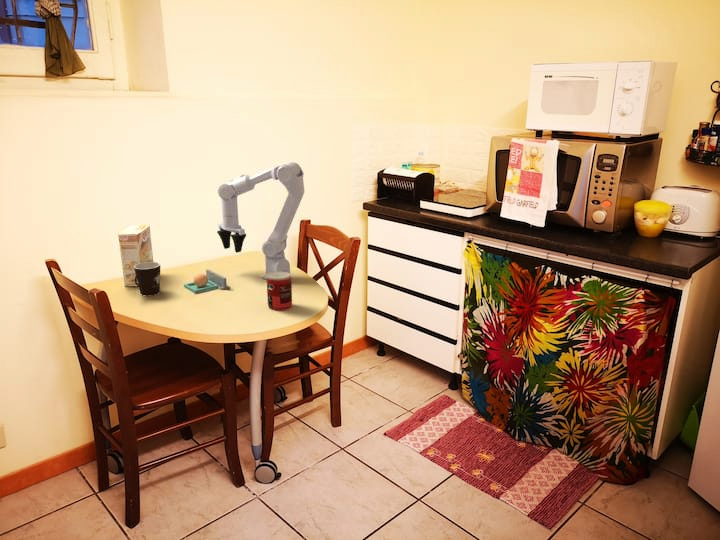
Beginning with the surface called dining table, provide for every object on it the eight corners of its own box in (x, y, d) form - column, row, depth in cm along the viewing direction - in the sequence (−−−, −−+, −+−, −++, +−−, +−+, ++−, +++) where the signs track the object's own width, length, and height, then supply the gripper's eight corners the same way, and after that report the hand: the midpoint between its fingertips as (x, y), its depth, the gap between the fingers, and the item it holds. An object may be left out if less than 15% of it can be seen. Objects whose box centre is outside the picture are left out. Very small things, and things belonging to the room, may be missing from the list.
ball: (211, 287, 196) (210, 273, 194) (199, 290, 192) (198, 276, 191) (203, 283, 199) (202, 270, 197) (191, 286, 195) (190, 273, 194)
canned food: (270, 302, 182) (268, 270, 179) (293, 302, 182) (292, 271, 179) (265, 310, 175) (264, 278, 172) (290, 311, 175) (289, 278, 171)
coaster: (218, 288, 195) (218, 285, 195) (194, 293, 190) (194, 290, 189) (207, 282, 202) (207, 279, 201) (184, 287, 196) (183, 284, 196)
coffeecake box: (143, 286, 197) (137, 233, 191) (123, 286, 196) (116, 234, 190) (155, 273, 211) (150, 224, 205) (137, 273, 211) (131, 224, 205)
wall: (229, 288, 195) (228, 277, 194) (221, 289, 193) (221, 279, 192) (211, 278, 205) (210, 268, 204) (204, 280, 203) (203, 270, 202)
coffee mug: (153, 287, 196) (150, 260, 193) (168, 291, 191) (165, 264, 188) (124, 296, 187) (120, 268, 184) (138, 301, 182) (135, 272, 179)
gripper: (250, 216, 201) (252, 251, 205) (228, 210, 211) (230, 244, 215) (234, 219, 196) (236, 255, 200) (212, 213, 206) (215, 248, 210)
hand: (232, 250), depth 207 cm, fingers open, 7 cm apart
